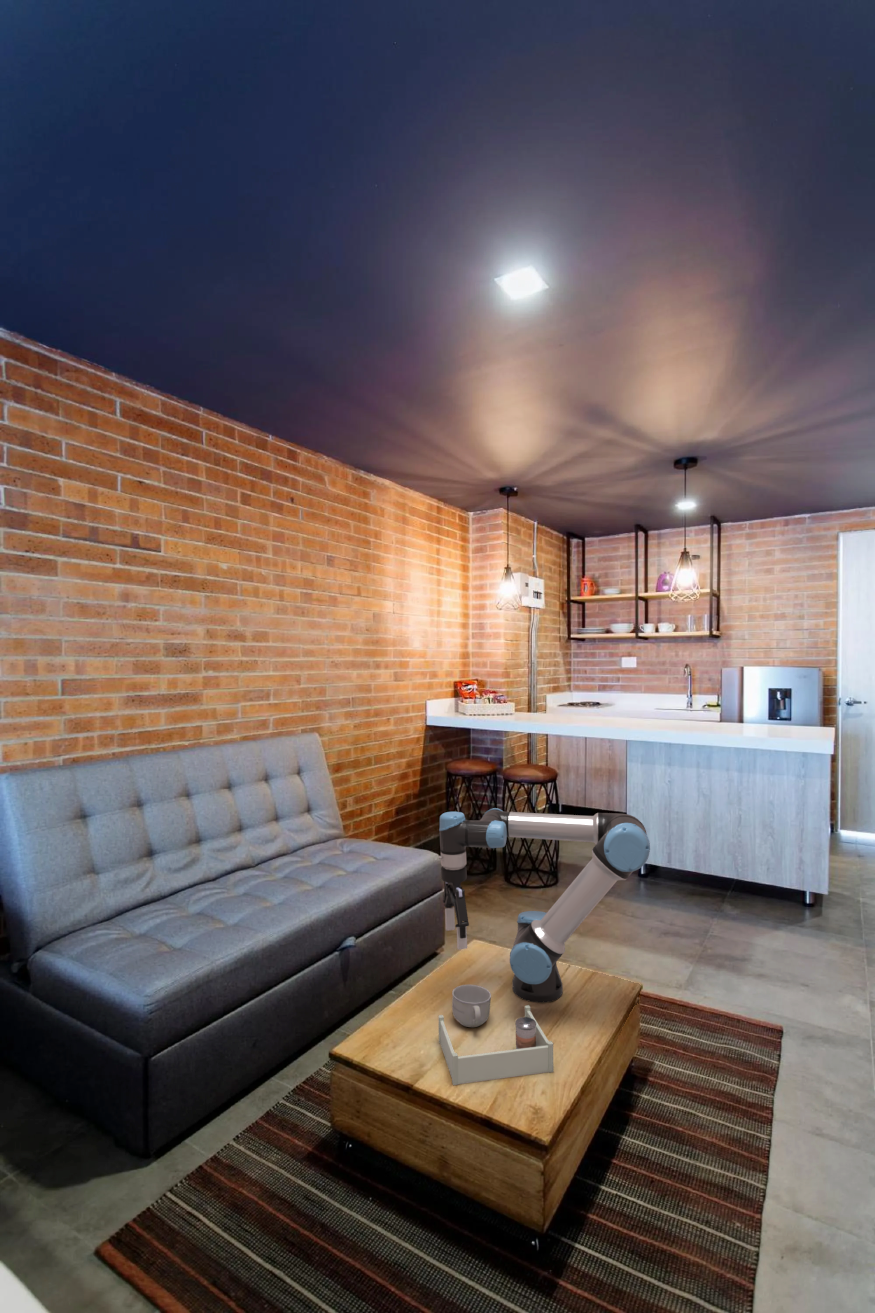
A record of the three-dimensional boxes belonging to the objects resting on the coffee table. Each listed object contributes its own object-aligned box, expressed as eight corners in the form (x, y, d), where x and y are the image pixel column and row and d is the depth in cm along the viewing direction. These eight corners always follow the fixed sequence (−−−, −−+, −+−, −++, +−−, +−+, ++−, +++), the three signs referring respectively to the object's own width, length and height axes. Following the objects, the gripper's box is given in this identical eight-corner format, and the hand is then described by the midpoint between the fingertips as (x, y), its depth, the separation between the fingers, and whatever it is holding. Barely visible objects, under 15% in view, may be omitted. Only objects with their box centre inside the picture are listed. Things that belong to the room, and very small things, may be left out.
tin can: (532, 1047, 166) (532, 1016, 166) (539, 1059, 161) (538, 1027, 161) (513, 1050, 165) (512, 1018, 165) (519, 1062, 160) (519, 1029, 160)
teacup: (452, 1010, 184) (452, 982, 184) (490, 1011, 184) (490, 983, 184) (452, 1039, 170) (451, 1009, 170) (492, 1039, 170) (492, 1009, 170)
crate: (529, 1030, 174) (528, 1005, 174) (553, 1072, 156) (553, 1044, 156) (438, 1041, 169) (438, 1015, 169) (453, 1085, 151) (452, 1056, 151)
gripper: (431, 855, 199) (434, 924, 199) (451, 880, 175) (454, 959, 175) (455, 853, 201) (457, 921, 201) (478, 877, 177) (480, 955, 177)
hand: (456, 939), depth 188 cm, fingers open, 13 cm apart
